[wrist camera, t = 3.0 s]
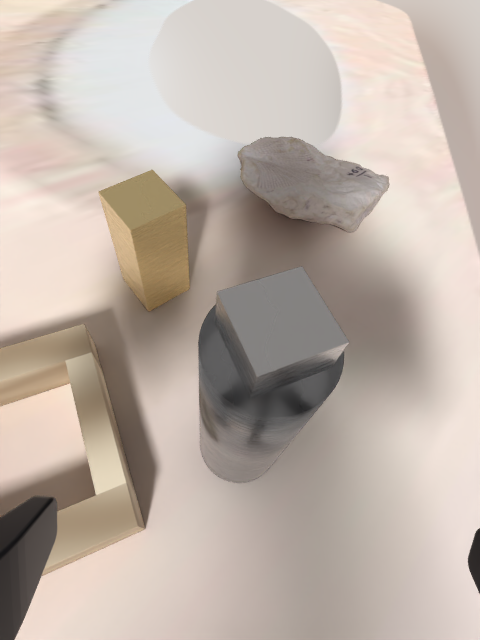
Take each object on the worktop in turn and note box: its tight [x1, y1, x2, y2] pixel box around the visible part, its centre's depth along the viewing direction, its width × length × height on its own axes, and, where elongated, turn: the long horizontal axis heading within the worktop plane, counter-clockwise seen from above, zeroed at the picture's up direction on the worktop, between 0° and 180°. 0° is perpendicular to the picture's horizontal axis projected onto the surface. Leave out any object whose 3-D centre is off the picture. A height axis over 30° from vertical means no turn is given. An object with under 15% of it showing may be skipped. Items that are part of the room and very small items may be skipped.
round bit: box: [198, 266, 349, 483], centre depth 15 cm, size 4×4×12 cm
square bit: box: [99, 170, 190, 312], centre depth 22 cm, size 3×3×7 cm
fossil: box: [238, 137, 389, 233], centre depth 27 cm, size 9×6×10 cm
